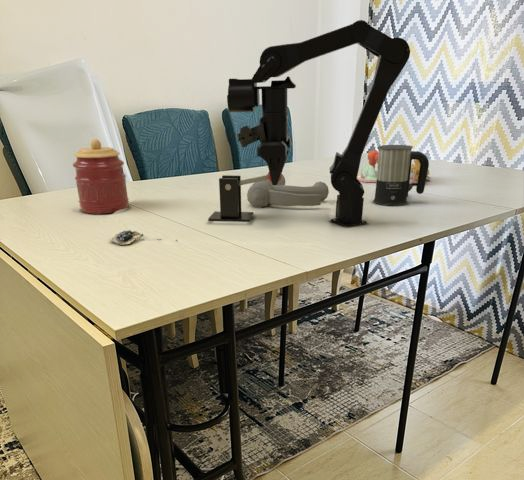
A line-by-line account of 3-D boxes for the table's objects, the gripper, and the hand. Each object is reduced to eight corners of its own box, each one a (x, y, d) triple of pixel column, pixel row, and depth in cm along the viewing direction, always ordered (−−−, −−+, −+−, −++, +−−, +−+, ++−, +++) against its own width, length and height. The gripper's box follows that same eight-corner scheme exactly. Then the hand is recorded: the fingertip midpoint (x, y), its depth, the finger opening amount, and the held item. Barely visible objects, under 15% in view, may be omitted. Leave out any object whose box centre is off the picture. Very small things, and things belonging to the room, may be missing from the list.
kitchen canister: (125, 214, 134) (116, 141, 126) (75, 215, 133) (62, 142, 125) (132, 203, 146) (124, 136, 138) (86, 204, 145) (75, 137, 137)
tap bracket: (253, 216, 131) (252, 174, 126) (249, 224, 124) (248, 180, 119) (214, 216, 132) (212, 174, 127) (208, 223, 125) (205, 179, 120)
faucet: (331, 197, 155) (321, 216, 133) (264, 192, 159) (243, 210, 136) (333, 173, 152) (324, 189, 129) (264, 169, 156) (243, 183, 133)
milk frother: (380, 206, 140) (386, 148, 133) (359, 195, 153) (363, 142, 146) (428, 204, 142) (437, 147, 135) (403, 193, 156) (409, 140, 149)
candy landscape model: (429, 175, 184) (433, 147, 180) (433, 187, 164) (437, 156, 159) (358, 173, 189) (360, 146, 185) (353, 184, 169) (356, 154, 164)
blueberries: (146, 234, 116) (145, 226, 115) (139, 244, 109) (138, 235, 108) (115, 235, 116) (114, 226, 115) (107, 245, 108) (106, 236, 108)
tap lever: (283, 180, 123) (281, 166, 122) (282, 183, 120) (279, 168, 119) (227, 191, 126) (224, 177, 125) (225, 194, 123) (221, 180, 122)
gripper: (245, 110, 124) (247, 177, 131) (232, 115, 108) (235, 191, 115) (291, 109, 123) (290, 177, 130) (285, 114, 107) (285, 191, 114)
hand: (275, 183), depth 122 cm, fingers closed on tap lever, 3 cm apart
